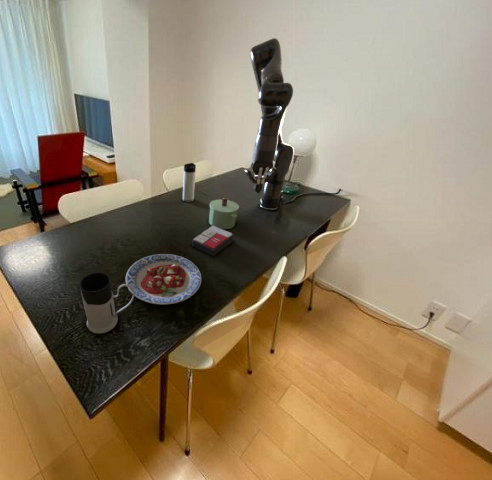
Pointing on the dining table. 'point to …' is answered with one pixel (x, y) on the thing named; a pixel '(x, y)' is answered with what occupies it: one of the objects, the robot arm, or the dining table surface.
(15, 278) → the dining table surface
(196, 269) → the ceramic plate
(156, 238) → the dining table surface
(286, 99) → the robot arm
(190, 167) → the travel mug
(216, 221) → the pot
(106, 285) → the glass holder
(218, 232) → the black square box
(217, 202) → the pot lid
